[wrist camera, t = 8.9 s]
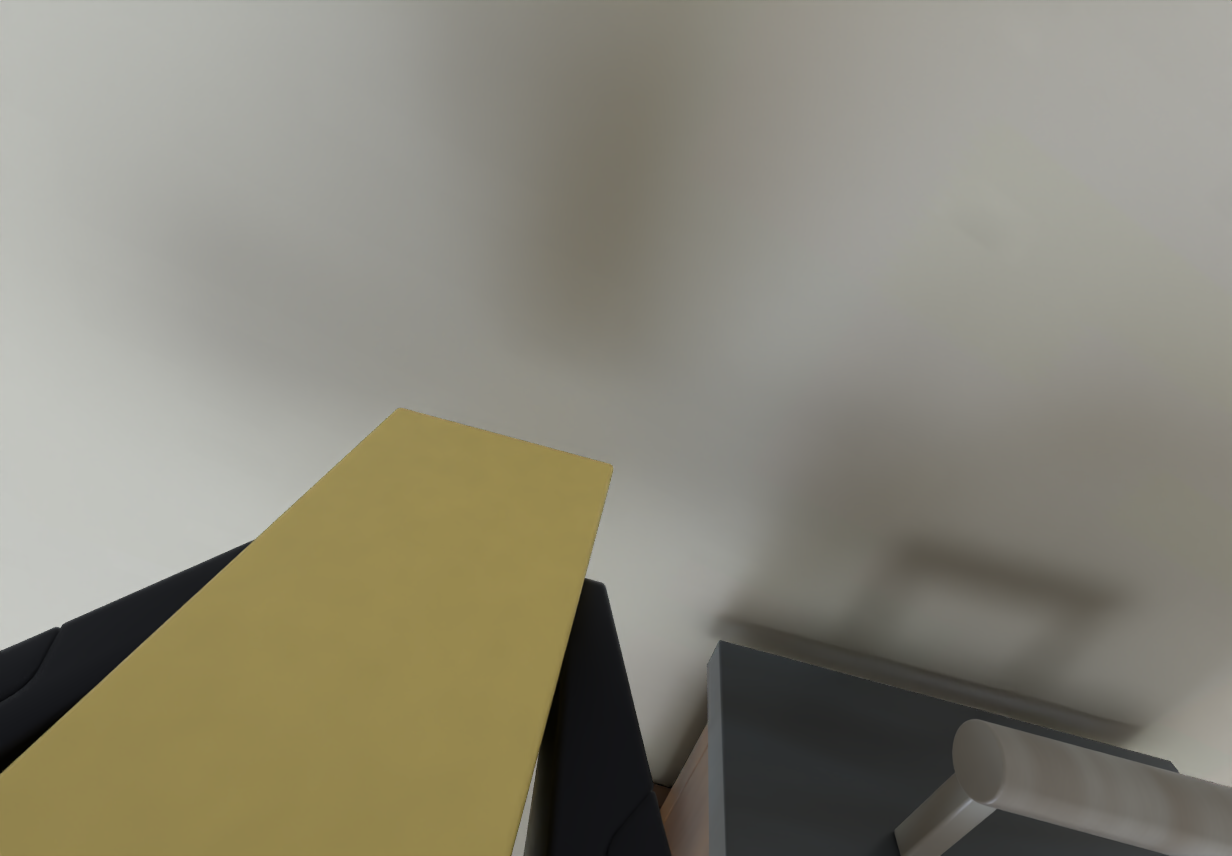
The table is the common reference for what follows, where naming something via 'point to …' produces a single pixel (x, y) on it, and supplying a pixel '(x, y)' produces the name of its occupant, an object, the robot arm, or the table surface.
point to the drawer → (915, 777)
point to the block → (340, 670)
